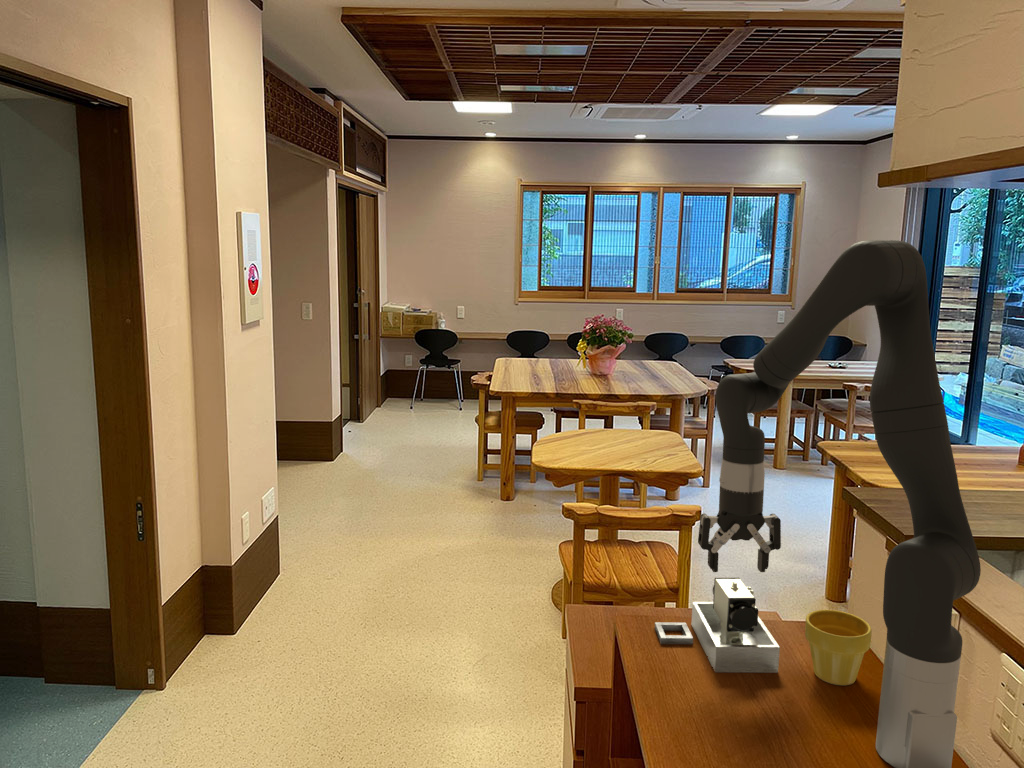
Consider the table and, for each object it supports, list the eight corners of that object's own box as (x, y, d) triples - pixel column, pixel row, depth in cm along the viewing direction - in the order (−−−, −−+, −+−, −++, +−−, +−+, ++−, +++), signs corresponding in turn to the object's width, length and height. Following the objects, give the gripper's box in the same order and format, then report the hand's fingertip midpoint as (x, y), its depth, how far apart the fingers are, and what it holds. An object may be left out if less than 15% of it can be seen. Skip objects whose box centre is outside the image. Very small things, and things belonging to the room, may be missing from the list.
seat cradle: (777, 672, 127) (779, 647, 127) (714, 672, 127) (716, 646, 127) (747, 625, 144) (748, 602, 143) (691, 624, 144) (692, 601, 143)
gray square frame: (692, 644, 137) (693, 638, 137) (660, 644, 137) (661, 638, 136) (685, 628, 143) (685, 622, 142) (654, 628, 143) (654, 622, 142)
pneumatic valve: (728, 660, 130) (732, 596, 128) (709, 627, 141) (712, 569, 139) (759, 660, 130) (763, 596, 128) (737, 627, 141) (741, 568, 139)
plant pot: (801, 654, 133) (805, 604, 132) (863, 665, 130) (868, 614, 128) (802, 685, 124) (806, 631, 122) (870, 697, 120) (875, 642, 119)
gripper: (707, 490, 127) (703, 579, 129) (789, 490, 127) (784, 579, 129) (696, 478, 134) (693, 562, 137) (774, 478, 134) (769, 562, 137)
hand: (737, 570), depth 133 cm, fingers open, 8 cm apart
